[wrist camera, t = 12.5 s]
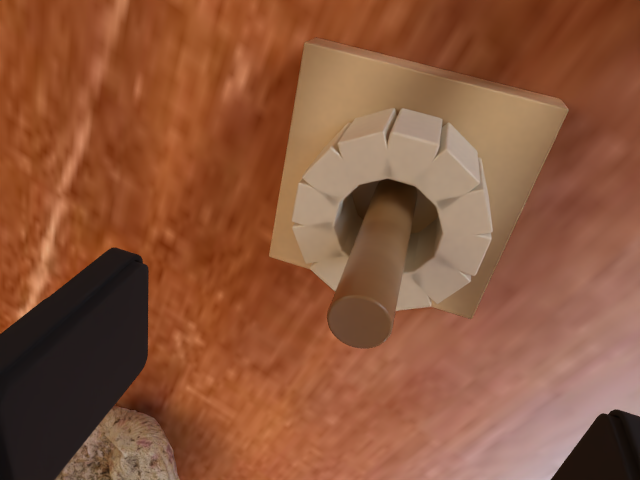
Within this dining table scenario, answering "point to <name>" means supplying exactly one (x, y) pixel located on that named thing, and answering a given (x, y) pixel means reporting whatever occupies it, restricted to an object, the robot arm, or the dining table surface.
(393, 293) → the stand
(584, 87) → the dining table surface
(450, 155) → the ivory notched ring
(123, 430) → the grey rough lump
